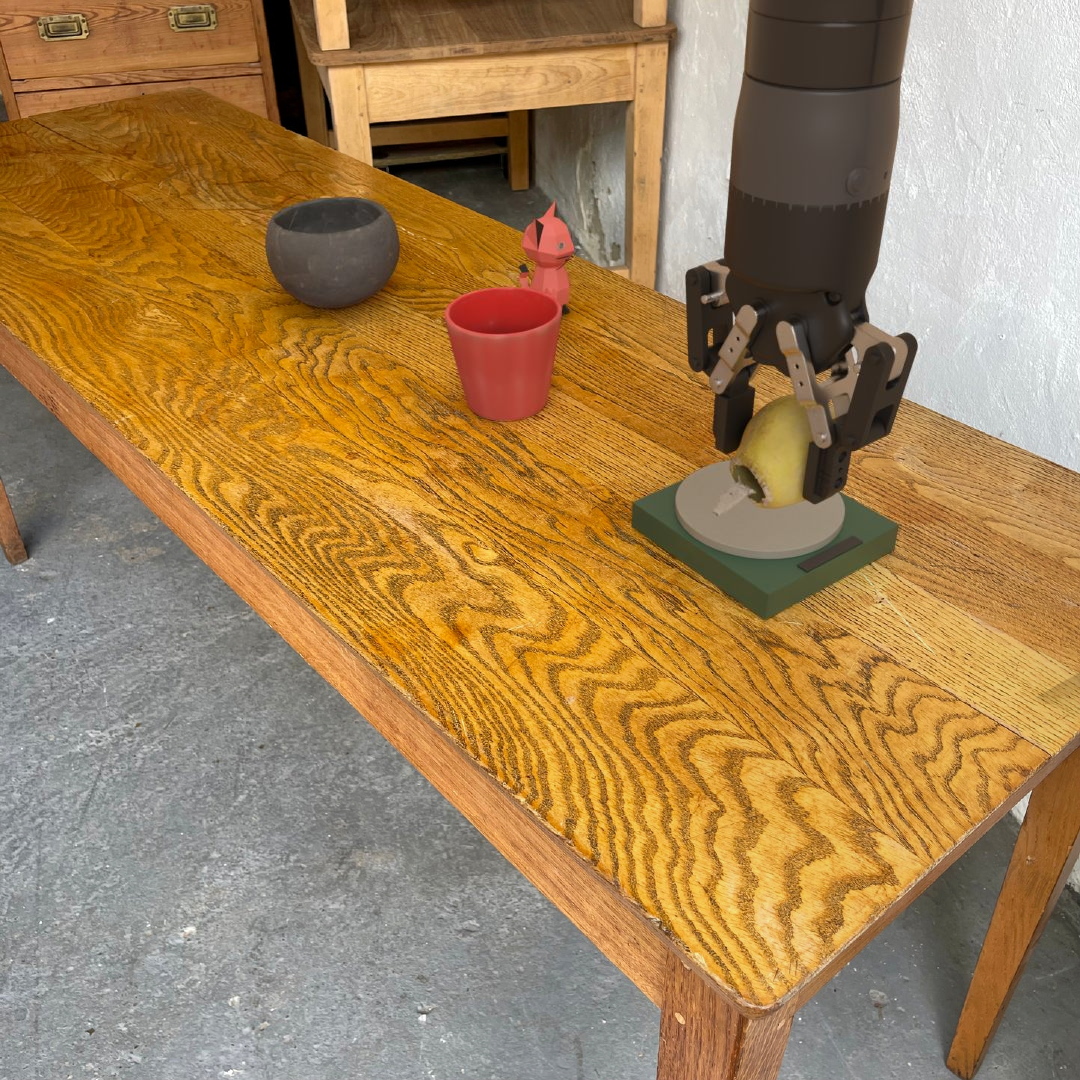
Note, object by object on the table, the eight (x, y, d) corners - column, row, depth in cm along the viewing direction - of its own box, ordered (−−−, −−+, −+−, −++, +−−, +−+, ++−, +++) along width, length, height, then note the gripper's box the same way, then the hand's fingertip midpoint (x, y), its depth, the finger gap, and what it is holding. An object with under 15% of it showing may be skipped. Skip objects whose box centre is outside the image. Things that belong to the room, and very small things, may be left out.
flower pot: (585, 409, 105) (585, 314, 100) (484, 441, 101) (478, 344, 95) (529, 367, 113) (525, 277, 107) (432, 396, 108) (424, 303, 103)
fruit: (672, 509, 63) (776, 422, 67) (756, 572, 60) (857, 478, 65) (692, 440, 58) (802, 352, 63) (784, 507, 56) (890, 410, 61)
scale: (894, 550, 86) (901, 516, 84) (765, 620, 79) (769, 585, 77) (756, 469, 96) (759, 437, 94) (631, 526, 89) (632, 493, 87)
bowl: (316, 337, 120) (302, 248, 114) (253, 297, 130) (237, 213, 124) (429, 300, 127) (422, 215, 122) (362, 264, 137) (352, 184, 131)
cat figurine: (565, 332, 119) (564, 223, 112) (507, 323, 122) (502, 216, 115) (587, 306, 125) (587, 201, 118) (531, 299, 127) (528, 195, 120)
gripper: (988, 193, 50) (921, 504, 59) (755, 126, 59) (731, 403, 69) (878, 232, 46) (827, 556, 56) (650, 154, 55) (640, 442, 65)
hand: (774, 470), depth 62 cm, fingers closed on fruit, 6 cm apart
